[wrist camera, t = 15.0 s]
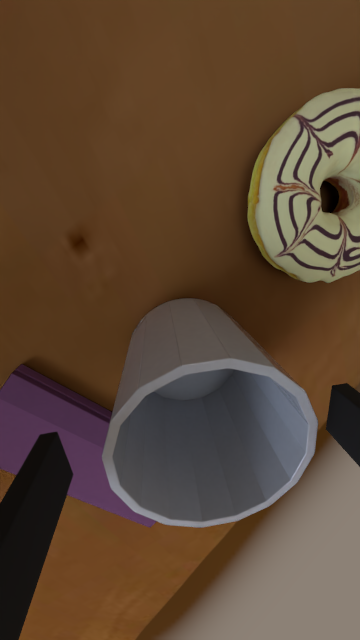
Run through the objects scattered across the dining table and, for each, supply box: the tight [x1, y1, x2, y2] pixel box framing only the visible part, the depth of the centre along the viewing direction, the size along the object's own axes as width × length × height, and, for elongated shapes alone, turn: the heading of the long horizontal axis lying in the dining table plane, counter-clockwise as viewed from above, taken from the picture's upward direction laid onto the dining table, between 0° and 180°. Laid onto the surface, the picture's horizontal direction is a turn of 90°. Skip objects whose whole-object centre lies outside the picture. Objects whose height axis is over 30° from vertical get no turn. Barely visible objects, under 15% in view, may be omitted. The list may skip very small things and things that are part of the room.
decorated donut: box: [247, 88, 360, 283], centre depth 15 cm, size 10×11×4 cm
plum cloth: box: [0, 364, 156, 527], centre depth 22 cm, size 10×20×1 cm, turn 51°
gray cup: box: [102, 298, 318, 528], centre depth 15 cm, size 10×10×10 cm
